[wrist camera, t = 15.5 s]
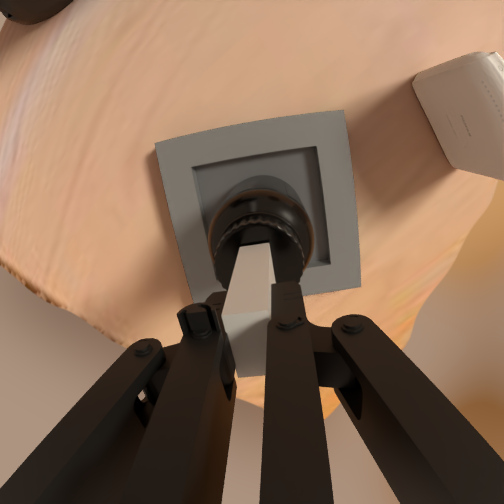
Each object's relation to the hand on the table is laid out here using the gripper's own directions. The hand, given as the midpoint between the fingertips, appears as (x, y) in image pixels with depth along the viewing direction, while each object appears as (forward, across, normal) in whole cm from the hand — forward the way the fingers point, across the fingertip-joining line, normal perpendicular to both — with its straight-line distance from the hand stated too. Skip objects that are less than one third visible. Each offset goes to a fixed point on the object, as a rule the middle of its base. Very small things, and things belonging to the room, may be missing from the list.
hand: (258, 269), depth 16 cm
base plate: (+13, 0, 0) cm, 13 cm away
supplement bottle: (+13, 0, 0) cm, 13 cm away
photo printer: (+14, +19, +7) cm, 24 cm away
